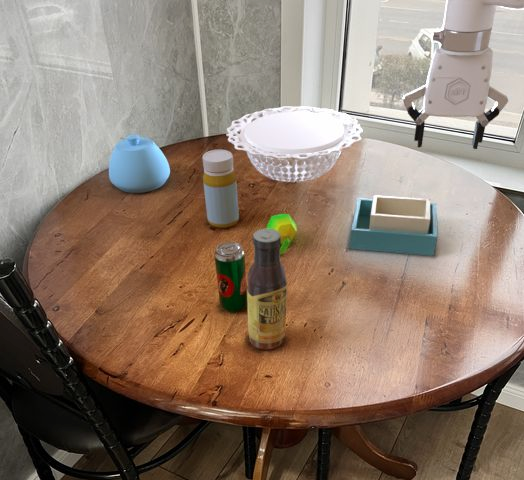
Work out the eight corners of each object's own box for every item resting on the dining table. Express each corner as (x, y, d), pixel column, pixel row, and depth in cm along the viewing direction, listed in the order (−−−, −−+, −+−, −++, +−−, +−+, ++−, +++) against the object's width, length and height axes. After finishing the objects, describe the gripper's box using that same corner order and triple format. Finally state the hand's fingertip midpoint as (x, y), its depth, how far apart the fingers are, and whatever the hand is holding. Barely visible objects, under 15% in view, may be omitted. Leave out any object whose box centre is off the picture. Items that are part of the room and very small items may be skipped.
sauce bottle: (261, 357, 88) (256, 252, 74) (241, 336, 92) (233, 233, 78) (294, 342, 90) (295, 238, 77) (274, 322, 94) (271, 220, 81)
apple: (273, 201, 111) (291, 221, 105) (295, 215, 115) (313, 234, 108) (253, 229, 113) (269, 250, 107) (275, 242, 117) (291, 263, 111)
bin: (432, 221, 117) (436, 203, 114) (433, 256, 107) (437, 236, 104) (355, 216, 120) (357, 197, 117) (349, 248, 110) (351, 229, 107)
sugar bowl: (99, 190, 134) (88, 144, 126) (131, 166, 144) (122, 121, 136) (152, 199, 129) (144, 151, 122) (181, 173, 140) (175, 127, 132)
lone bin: (425, 224, 115) (430, 198, 111) (425, 246, 109) (430, 219, 105) (370, 220, 117) (373, 195, 113) (367, 241, 111) (370, 215, 107)
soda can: (248, 312, 96) (244, 255, 88) (220, 315, 96) (213, 257, 88) (247, 295, 100) (243, 239, 92) (219, 297, 100) (213, 241, 92)
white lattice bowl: (378, 200, 125) (385, 146, 116) (245, 221, 120) (242, 166, 111) (332, 147, 148) (334, 99, 139) (219, 163, 143) (214, 114, 134)
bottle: (242, 214, 122) (237, 149, 112) (235, 230, 117) (230, 163, 107) (212, 212, 124) (205, 148, 113) (204, 228, 119) (196, 162, 108)
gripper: (409, 46, 86) (397, 152, 98) (525, 45, 83) (498, 155, 94) (410, 34, 92) (398, 136, 103) (519, 33, 88) (494, 138, 100)
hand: (446, 145), depth 99 cm, fingers open, 9 cm apart
